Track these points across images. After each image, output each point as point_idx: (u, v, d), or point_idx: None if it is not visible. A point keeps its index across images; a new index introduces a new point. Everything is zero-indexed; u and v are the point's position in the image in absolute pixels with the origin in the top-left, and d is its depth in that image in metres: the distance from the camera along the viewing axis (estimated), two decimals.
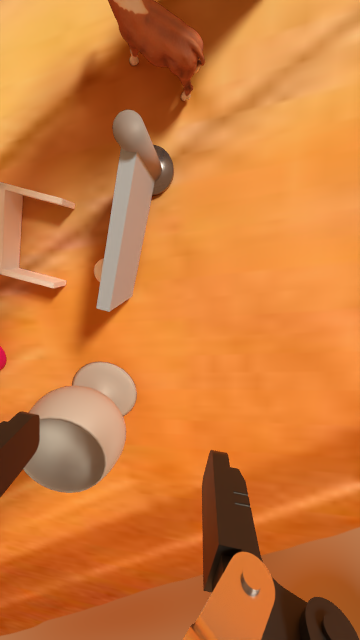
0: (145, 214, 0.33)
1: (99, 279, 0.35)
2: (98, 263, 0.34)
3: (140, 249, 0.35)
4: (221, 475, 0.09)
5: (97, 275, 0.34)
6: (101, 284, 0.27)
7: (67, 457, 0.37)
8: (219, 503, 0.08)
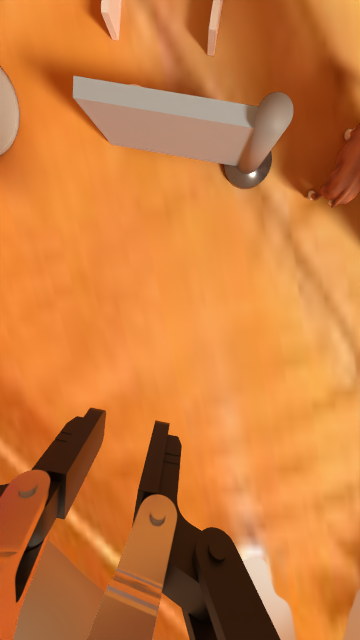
0: (202, 155, 0.29)
1: None
2: None
3: (165, 152, 0.30)
4: (158, 439, 0.10)
5: None
6: (105, 83, 0.21)
7: None
8: (149, 460, 0.09)
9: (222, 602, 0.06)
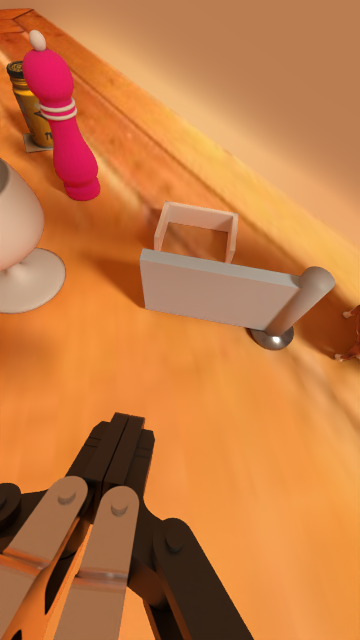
0: (234, 319, 0.31)
1: None
2: None
3: (197, 316, 0.32)
4: (130, 433, 0.10)
5: None
6: (170, 254, 0.25)
7: None
8: (118, 453, 0.09)
9: (181, 589, 0.06)
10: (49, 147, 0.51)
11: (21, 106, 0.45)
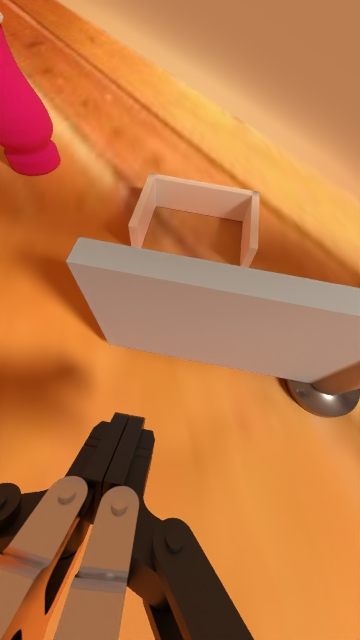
0: (261, 366, 0.18)
1: None
2: None
3: (197, 359, 0.19)
4: (130, 433, 0.10)
5: None
6: (137, 250, 0.11)
7: None
8: (118, 453, 0.09)
9: (181, 589, 0.06)
10: None
11: None
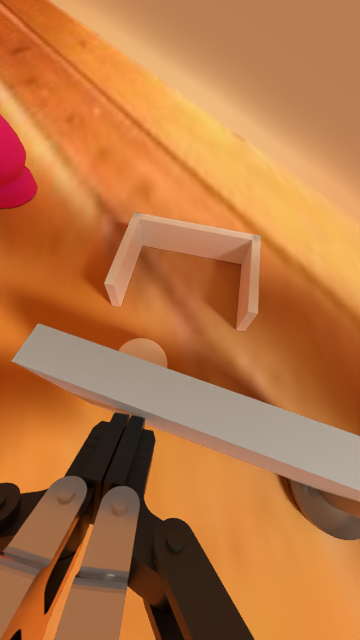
0: (259, 466, 0.15)
1: (130, 340, 0.18)
2: None
3: None
4: (131, 433, 0.10)
5: (139, 338, 0.18)
6: (106, 352, 0.09)
7: None
8: (119, 453, 0.09)
9: (181, 589, 0.06)
10: None
11: None
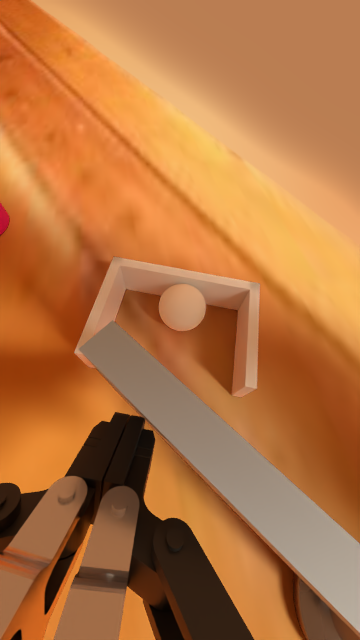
0: (270, 547, 0.13)
1: (171, 287, 0.20)
2: (197, 290, 0.20)
3: (199, 475, 0.15)
4: (130, 433, 0.10)
5: (178, 284, 0.20)
6: (165, 374, 0.08)
7: None
8: (118, 453, 0.09)
9: (181, 589, 0.06)
10: None
11: None
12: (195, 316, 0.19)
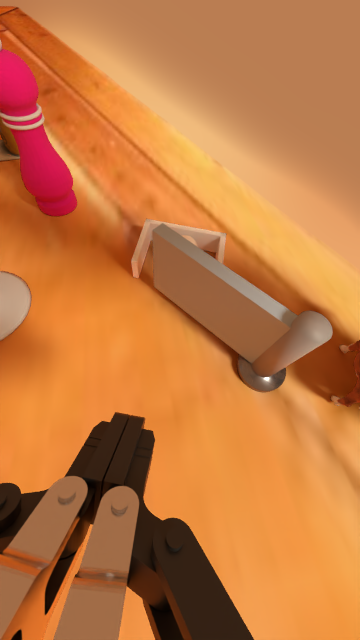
0: (224, 334, 0.29)
1: None
2: (193, 239, 0.36)
3: (194, 316, 0.31)
4: (130, 433, 0.10)
5: (183, 235, 0.35)
6: (182, 237, 0.25)
7: None
8: (118, 453, 0.09)
9: (181, 589, 0.06)
10: None
11: None
12: None
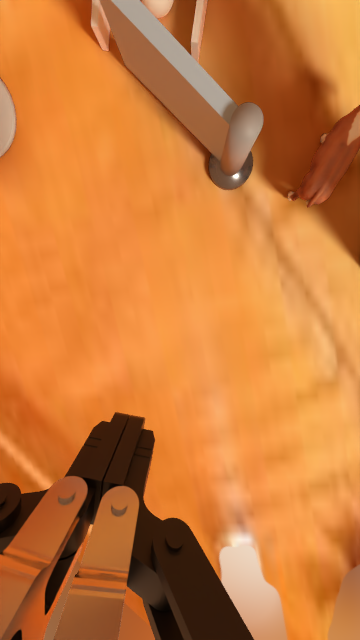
0: (195, 130, 0.30)
1: None
2: None
3: (168, 107, 0.31)
4: (130, 433, 0.10)
5: None
6: None
7: None
8: (118, 453, 0.09)
9: (181, 589, 0.06)
10: None
11: None
12: (166, 7, 0.28)
